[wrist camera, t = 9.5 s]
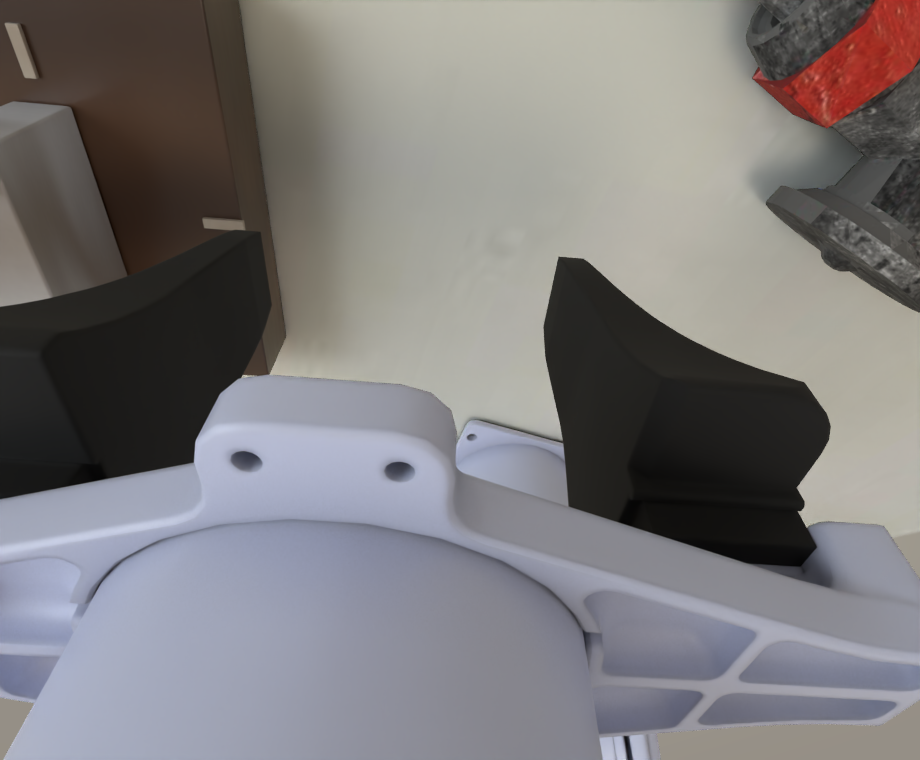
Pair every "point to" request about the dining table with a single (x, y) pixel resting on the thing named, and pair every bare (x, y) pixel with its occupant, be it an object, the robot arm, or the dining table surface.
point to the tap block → (153, 121)
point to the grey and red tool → (852, 128)
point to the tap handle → (50, 208)
